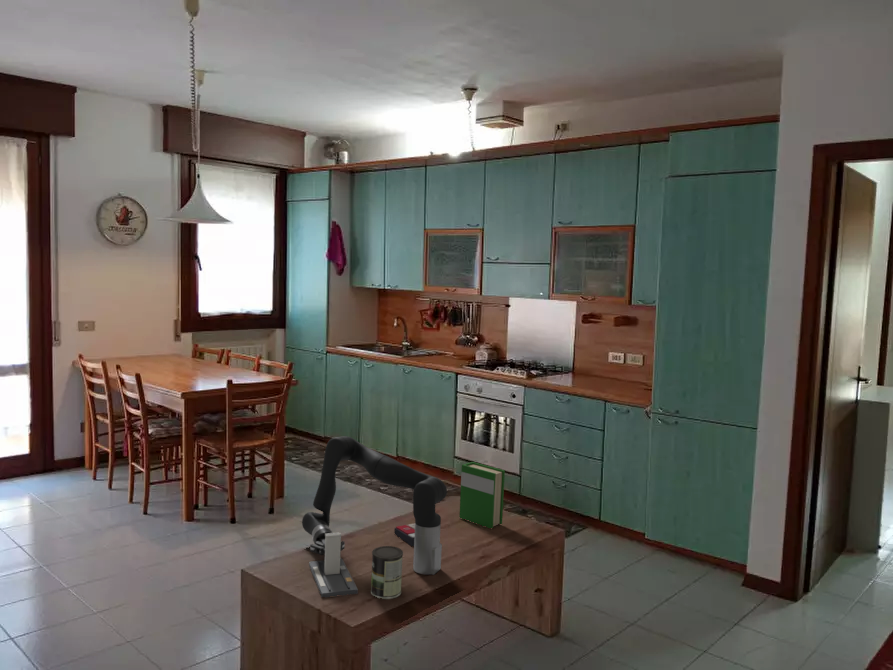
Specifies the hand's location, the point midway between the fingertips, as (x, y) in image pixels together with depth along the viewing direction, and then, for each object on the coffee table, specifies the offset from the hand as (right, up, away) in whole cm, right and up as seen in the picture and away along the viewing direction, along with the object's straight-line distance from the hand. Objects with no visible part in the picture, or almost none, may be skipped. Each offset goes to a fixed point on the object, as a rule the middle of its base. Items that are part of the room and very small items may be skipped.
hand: (332, 555), depth 253 cm
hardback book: (+54, -4, +61) cm, 82 cm away
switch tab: (0, -6, 0) cm, 6 cm away
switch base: (0, -8, -1) cm, 8 cm away
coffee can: (+20, -10, -9) cm, 24 cm away
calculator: (+27, -5, +40) cm, 48 cm away
